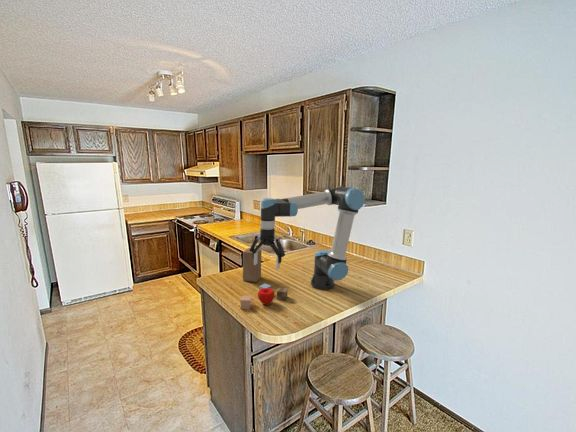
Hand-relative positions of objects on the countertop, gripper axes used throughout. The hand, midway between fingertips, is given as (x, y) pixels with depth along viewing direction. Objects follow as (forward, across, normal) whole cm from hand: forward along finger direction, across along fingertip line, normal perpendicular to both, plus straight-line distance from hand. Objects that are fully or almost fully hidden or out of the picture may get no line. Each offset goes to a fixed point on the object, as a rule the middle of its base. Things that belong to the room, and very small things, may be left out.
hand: (266, 266), depth 147 cm
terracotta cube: (+22, +8, +8) cm, 24 cm away
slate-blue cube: (+22, +6, -10) cm, 24 cm away
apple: (+22, 0, 0) cm, 22 cm away
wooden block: (+22, +24, -25) cm, 41 cm away
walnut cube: (+21, -5, -10) cm, 24 cm away
